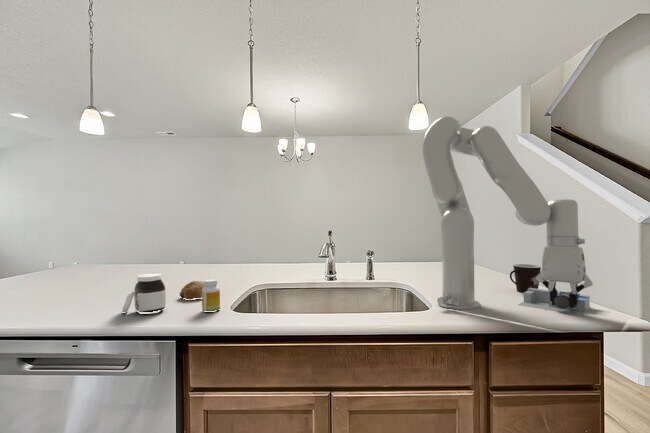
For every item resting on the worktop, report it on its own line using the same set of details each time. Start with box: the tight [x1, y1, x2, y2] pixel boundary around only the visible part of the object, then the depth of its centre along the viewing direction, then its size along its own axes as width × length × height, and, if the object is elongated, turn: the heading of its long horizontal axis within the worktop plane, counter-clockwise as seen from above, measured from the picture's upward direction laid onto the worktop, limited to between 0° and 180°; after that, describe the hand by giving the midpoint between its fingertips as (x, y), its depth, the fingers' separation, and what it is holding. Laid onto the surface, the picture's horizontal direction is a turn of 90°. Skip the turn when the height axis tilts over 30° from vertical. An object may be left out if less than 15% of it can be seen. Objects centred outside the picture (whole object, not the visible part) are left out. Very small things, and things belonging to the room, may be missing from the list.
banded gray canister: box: [554, 291, 571, 309], centre depth 101 cm, size 8×4×4 cm, turn 131°
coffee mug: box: [509, 263, 542, 294], centre depth 124 cm, size 12×9×10 cm
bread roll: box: [179, 280, 205, 299], centre depth 126 cm, size 10×10×8 cm
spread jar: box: [121, 273, 167, 313], centre depth 108 cm, size 12×11×12 cm
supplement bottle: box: [201, 278, 221, 312], centre depth 108 cm, size 5×5×10 cm
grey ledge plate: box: [517, 288, 592, 317], centre depth 105 cm, size 12×16×5 cm
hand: (563, 305), depth 99 cm, fingers closed on banded gray canister, 3 cm apart
